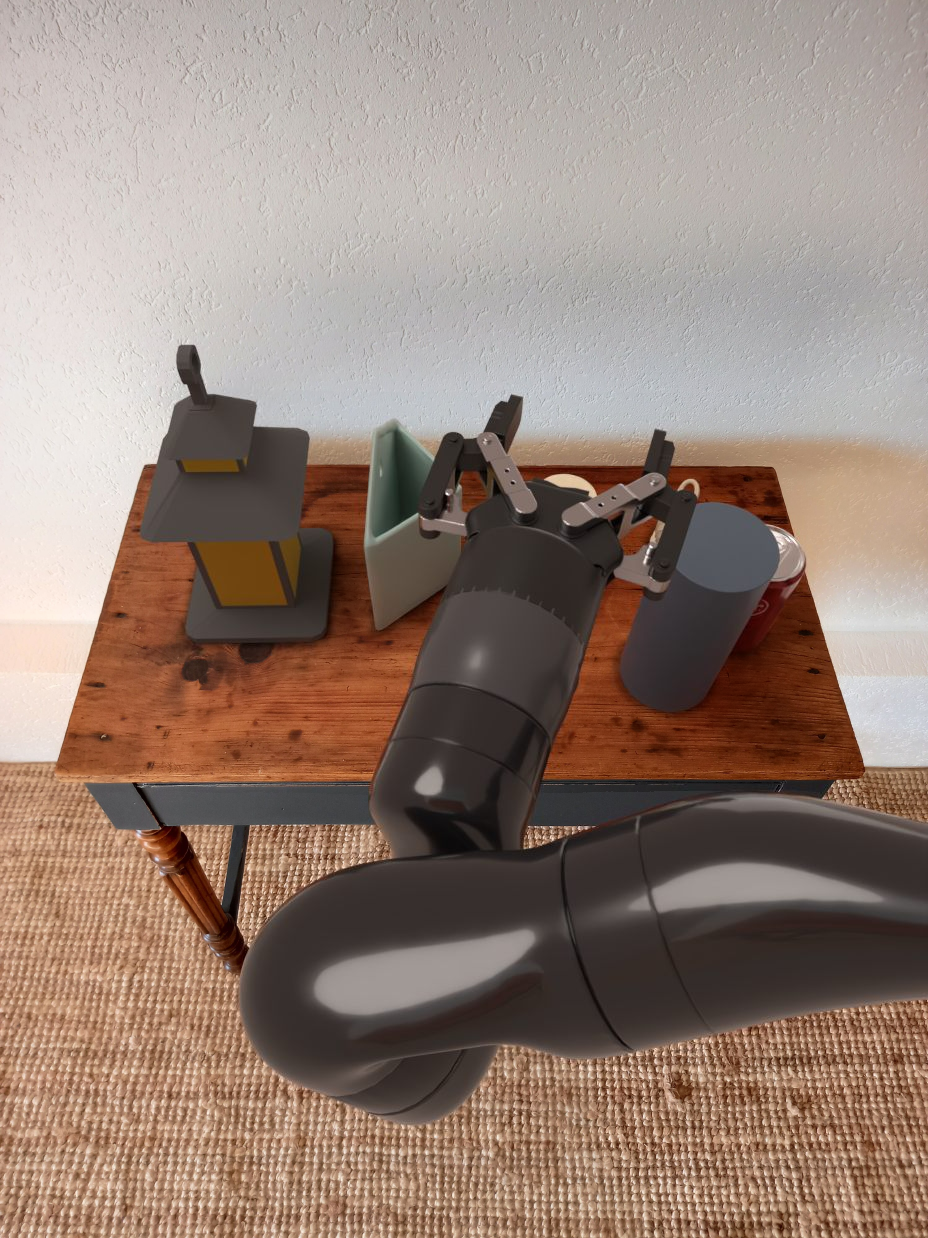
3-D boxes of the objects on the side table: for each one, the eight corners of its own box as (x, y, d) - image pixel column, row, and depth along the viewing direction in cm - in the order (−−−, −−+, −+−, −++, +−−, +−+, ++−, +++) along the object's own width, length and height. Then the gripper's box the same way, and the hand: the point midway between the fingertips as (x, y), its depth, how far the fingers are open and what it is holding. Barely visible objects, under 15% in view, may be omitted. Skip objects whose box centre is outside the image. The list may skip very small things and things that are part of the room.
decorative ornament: (639, 554, 87) (649, 522, 83) (671, 506, 91) (683, 473, 87) (673, 571, 86) (685, 539, 82) (704, 521, 90) (718, 488, 86)
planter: (452, 638, 81) (452, 508, 65) (374, 630, 82) (355, 500, 65) (468, 515, 90) (472, 374, 74) (398, 509, 91) (386, 367, 74)
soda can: (723, 664, 80) (762, 595, 70) (680, 610, 83) (711, 537, 73) (780, 636, 82) (826, 565, 72) (735, 584, 85) (773, 510, 75)
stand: (718, 649, 81) (787, 520, 64) (701, 724, 76) (770, 606, 60) (631, 622, 83) (677, 489, 66) (609, 694, 78) (652, 571, 61)
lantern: (185, 643, 80) (64, 417, 55) (206, 534, 88) (108, 292, 63) (325, 641, 81) (269, 415, 56) (334, 533, 88) (288, 291, 63)
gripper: (669, 645, 34) (725, 400, 43) (361, 559, 37) (472, 343, 45) (636, 722, 41) (690, 495, 49) (375, 644, 43) (469, 441, 51)
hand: (585, 422), depth 47 cm, fingers open, 8 cm apart
